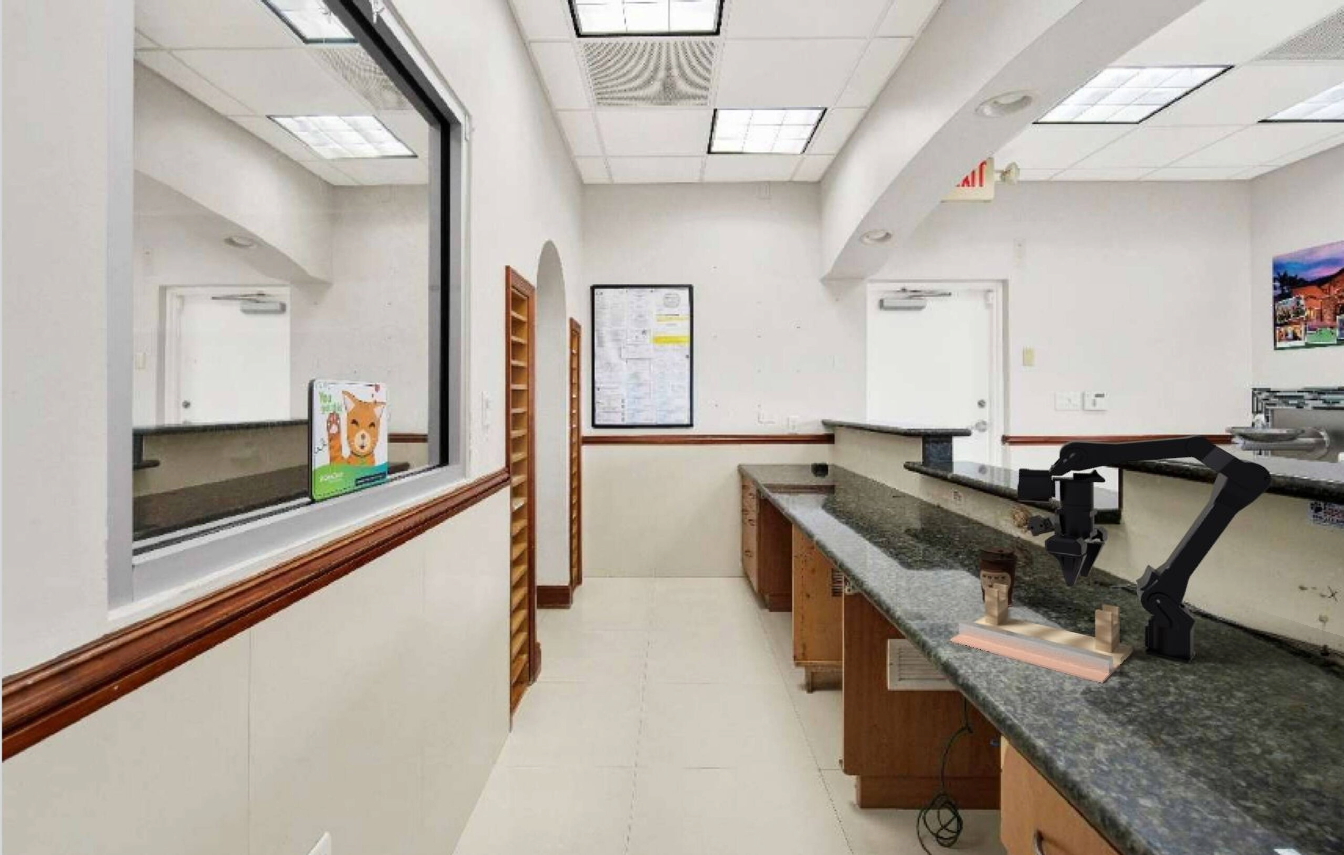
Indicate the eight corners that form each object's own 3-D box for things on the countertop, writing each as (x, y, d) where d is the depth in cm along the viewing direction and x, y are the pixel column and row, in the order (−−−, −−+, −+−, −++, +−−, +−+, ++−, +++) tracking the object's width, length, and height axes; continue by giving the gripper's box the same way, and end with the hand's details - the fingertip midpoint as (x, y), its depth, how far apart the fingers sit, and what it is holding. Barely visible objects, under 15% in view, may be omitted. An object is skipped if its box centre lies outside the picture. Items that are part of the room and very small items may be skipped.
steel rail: (1112, 670, 109) (1112, 656, 108) (1108, 674, 107) (1108, 660, 107) (964, 631, 128) (964, 620, 128) (958, 634, 127) (958, 622, 127)
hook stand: (1132, 652, 117) (1132, 607, 117) (1120, 664, 112) (1120, 617, 111) (989, 618, 137) (989, 580, 136) (974, 627, 131) (973, 587, 131)
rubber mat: (1119, 666, 111) (1119, 664, 111) (1102, 683, 104) (1102, 681, 104) (972, 628, 131) (971, 626, 131) (950, 641, 124) (950, 639, 124)
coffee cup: (1014, 611, 141) (1014, 555, 140) (974, 605, 146) (974, 550, 145) (1020, 601, 148) (1020, 547, 147) (982, 595, 153) (982, 543, 152)
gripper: (1047, 494, 135) (1047, 565, 135) (1015, 505, 122) (1016, 583, 123) (1107, 499, 126) (1108, 574, 127) (1080, 511, 114) (1081, 594, 114)
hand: (1077, 581), depth 123 cm, fingers open, 9 cm apart
